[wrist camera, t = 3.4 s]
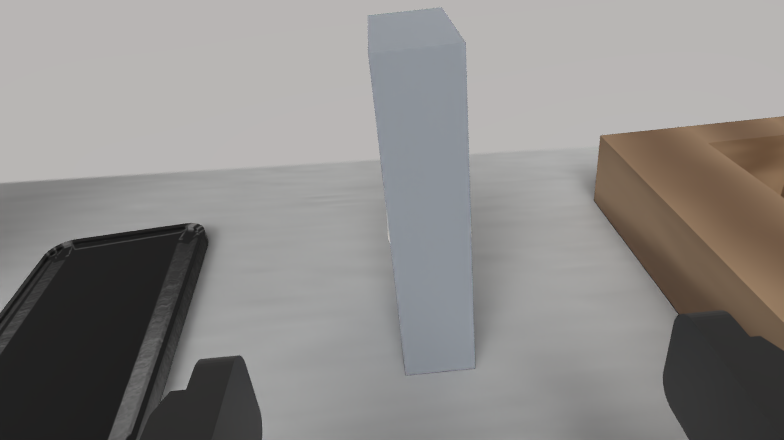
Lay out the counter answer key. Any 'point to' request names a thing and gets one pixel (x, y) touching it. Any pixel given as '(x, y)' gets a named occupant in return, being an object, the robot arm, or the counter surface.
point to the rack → (704, 215)
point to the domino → (426, 182)
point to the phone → (96, 334)
